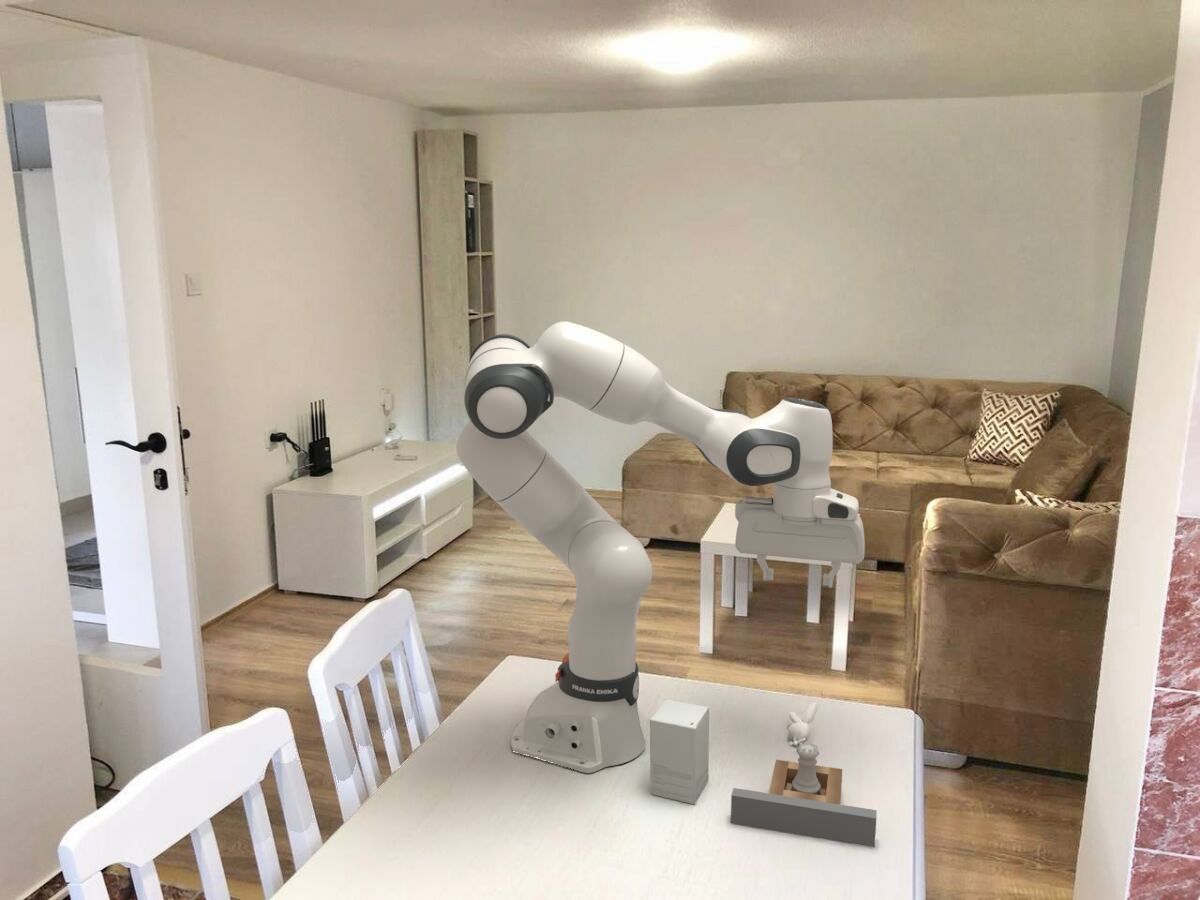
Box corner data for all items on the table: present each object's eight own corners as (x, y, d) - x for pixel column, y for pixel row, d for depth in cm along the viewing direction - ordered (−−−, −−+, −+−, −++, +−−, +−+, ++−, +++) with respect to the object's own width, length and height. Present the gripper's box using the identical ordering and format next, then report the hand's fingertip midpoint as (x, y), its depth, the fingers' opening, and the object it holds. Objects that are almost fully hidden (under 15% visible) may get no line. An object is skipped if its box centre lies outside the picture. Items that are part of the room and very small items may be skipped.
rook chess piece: (822, 804, 137) (825, 754, 135) (791, 802, 137) (793, 752, 136) (819, 787, 141) (821, 739, 139) (789, 785, 142) (791, 737, 140)
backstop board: (730, 823, 134) (731, 795, 134) (732, 815, 136) (733, 787, 135) (874, 847, 129) (876, 818, 128) (874, 838, 131) (876, 810, 130)
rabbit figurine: (776, 743, 156) (784, 705, 162) (790, 757, 157) (798, 718, 163) (804, 736, 152) (811, 696, 158) (819, 750, 153) (826, 710, 159)
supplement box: (709, 780, 145) (711, 706, 143) (694, 806, 139) (695, 728, 136) (665, 770, 148) (666, 697, 146) (648, 794, 142) (648, 718, 139)
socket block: (767, 816, 136) (768, 795, 135) (775, 779, 145) (775, 759, 144) (838, 828, 133) (839, 806, 132) (841, 789, 142) (842, 769, 141)
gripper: (732, 500, 147) (730, 583, 150) (866, 510, 141) (861, 596, 144) (738, 490, 153) (736, 570, 156) (868, 500, 147) (863, 582, 150)
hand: (797, 583), depth 150 cm, fingers open, 8 cm apart
